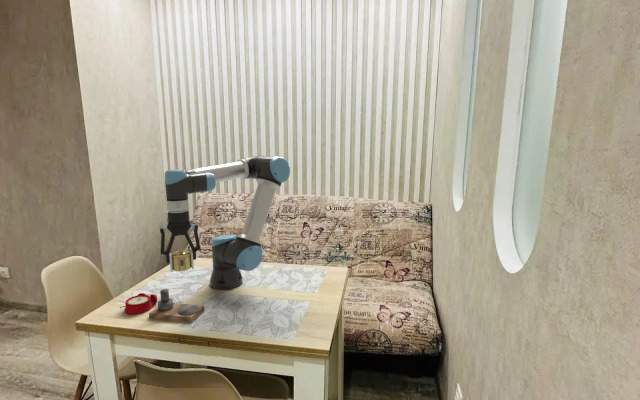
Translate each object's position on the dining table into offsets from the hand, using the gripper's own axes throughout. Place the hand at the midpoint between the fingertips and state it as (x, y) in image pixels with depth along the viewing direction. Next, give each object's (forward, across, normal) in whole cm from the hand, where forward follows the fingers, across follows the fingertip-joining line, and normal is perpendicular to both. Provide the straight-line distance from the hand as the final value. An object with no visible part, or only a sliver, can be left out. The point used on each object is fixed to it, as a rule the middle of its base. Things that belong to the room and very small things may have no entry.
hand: (182, 269), depth 143 cm
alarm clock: (+19, -16, +14) cm, 29 cm away
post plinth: (+19, -3, +2) cm, 19 cm away
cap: (0, 0, 0) cm, 0 cm away
